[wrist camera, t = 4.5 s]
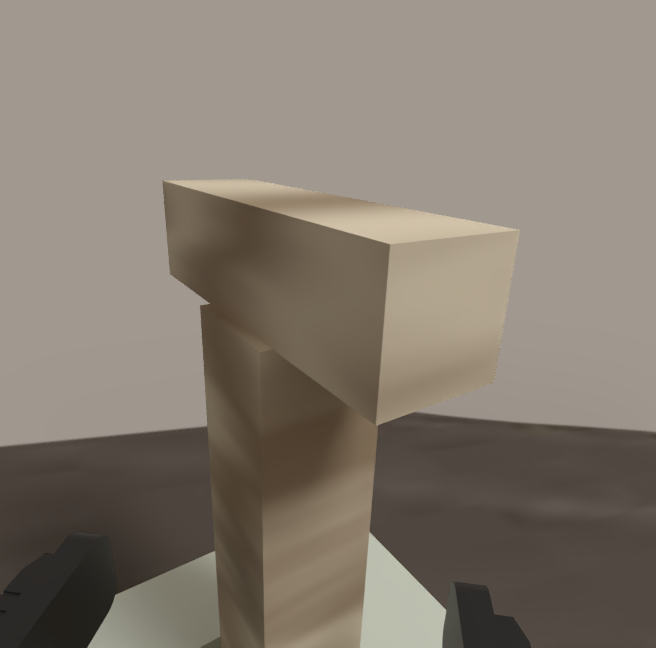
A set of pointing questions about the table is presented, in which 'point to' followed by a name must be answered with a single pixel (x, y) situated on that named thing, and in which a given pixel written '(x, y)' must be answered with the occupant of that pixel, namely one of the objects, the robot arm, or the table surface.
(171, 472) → the table surface
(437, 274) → the t key
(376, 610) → the socket block
